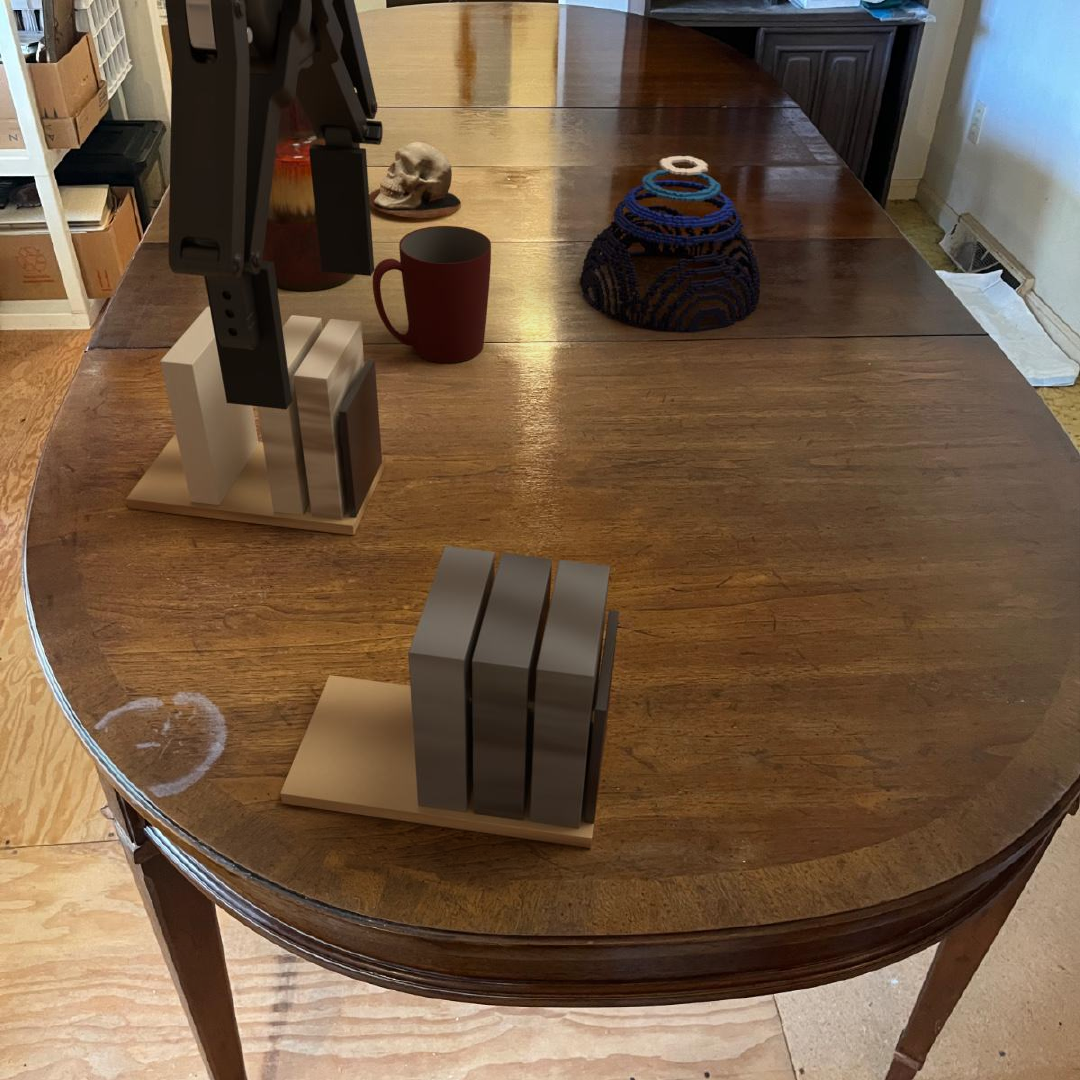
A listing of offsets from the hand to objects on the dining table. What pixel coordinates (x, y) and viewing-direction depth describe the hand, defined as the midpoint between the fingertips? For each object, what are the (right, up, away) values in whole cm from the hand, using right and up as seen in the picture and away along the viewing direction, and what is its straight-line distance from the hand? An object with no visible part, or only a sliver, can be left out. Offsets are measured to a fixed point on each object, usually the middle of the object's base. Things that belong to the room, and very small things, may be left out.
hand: (308, 330), depth 52 cm
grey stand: (+6, -24, +16) cm, 30 cm away
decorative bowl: (+26, +18, +70) cm, 77 cm away
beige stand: (-12, -6, +38) cm, 40 cm away
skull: (-5, +33, +87) cm, 93 cm away
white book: (-15, -5, +38) cm, 41 cm away
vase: (-15, +21, +71) cm, 75 cm away
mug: (0, +9, +57) cm, 58 cm away
